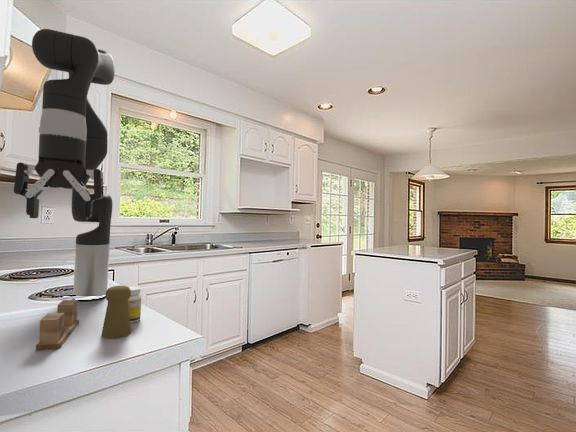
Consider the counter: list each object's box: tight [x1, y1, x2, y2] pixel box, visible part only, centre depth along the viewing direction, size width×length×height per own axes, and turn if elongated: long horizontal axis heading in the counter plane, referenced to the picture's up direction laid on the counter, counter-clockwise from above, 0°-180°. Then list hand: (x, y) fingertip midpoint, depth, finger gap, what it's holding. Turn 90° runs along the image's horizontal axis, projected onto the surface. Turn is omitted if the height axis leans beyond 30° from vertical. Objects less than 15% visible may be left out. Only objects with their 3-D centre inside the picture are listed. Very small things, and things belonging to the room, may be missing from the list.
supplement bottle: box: [128, 286, 142, 324], centre depth 82 cm, size 5×5×8 cm
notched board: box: [35, 299, 80, 351], centre depth 71 cm, size 15×4×6 cm, turn 21°
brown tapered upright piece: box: [101, 285, 132, 340], centre depth 73 cm, size 6×6×11 cm
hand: (60, 218), depth 62 cm, fingers open, 8 cm apart
